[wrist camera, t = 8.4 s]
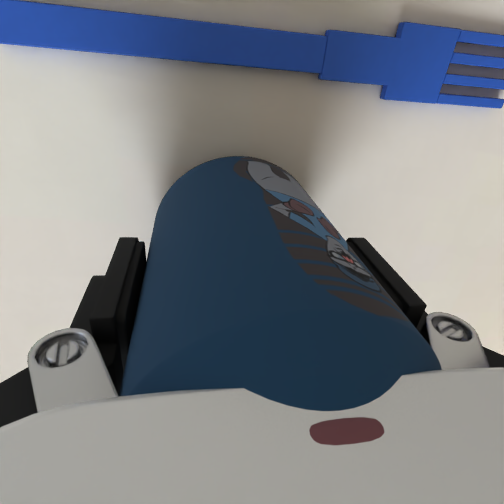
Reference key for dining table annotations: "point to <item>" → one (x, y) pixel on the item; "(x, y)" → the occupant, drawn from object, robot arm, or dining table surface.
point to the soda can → (265, 302)
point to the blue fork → (267, 48)
